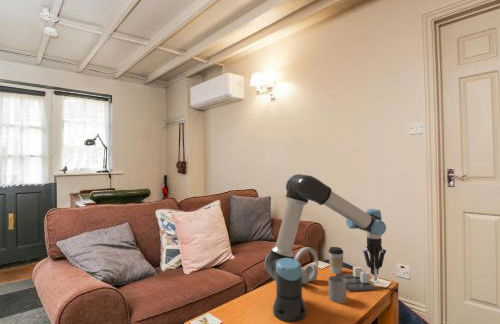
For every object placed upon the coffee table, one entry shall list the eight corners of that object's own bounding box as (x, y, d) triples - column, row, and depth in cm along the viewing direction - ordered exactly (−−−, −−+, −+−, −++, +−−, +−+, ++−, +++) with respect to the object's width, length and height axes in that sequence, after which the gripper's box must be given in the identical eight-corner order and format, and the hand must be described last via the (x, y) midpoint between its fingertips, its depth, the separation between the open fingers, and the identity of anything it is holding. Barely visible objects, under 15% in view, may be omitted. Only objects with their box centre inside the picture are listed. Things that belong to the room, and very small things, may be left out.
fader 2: (362, 283, 158) (362, 273, 158) (360, 280, 161) (359, 271, 161) (369, 282, 159) (369, 273, 159) (366, 280, 162) (366, 271, 162)
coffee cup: (345, 270, 183) (345, 247, 183) (341, 275, 175) (341, 250, 175) (331, 268, 188) (330, 245, 187) (326, 272, 180) (326, 248, 180)
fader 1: (355, 277, 166) (355, 268, 166) (352, 275, 169) (352, 266, 169) (362, 277, 167) (361, 268, 167) (359, 274, 170) (359, 266, 170)
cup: (347, 303, 141) (346, 283, 141) (329, 302, 143) (329, 282, 143) (345, 295, 150) (344, 276, 150) (328, 294, 151) (328, 275, 151)
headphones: (299, 289, 157) (299, 252, 157) (289, 284, 164) (288, 249, 164) (322, 280, 169) (322, 246, 168) (312, 276, 175) (311, 243, 175)
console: (348, 291, 154) (348, 285, 154) (335, 277, 172) (335, 272, 172) (373, 289, 155) (373, 284, 155) (358, 276, 173) (358, 271, 173)
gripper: (366, 239, 156) (366, 283, 156) (389, 238, 157) (389, 282, 157) (359, 236, 164) (360, 277, 164) (381, 235, 165) (382, 276, 165)
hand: (374, 279), depth 161 cm, fingers closed
